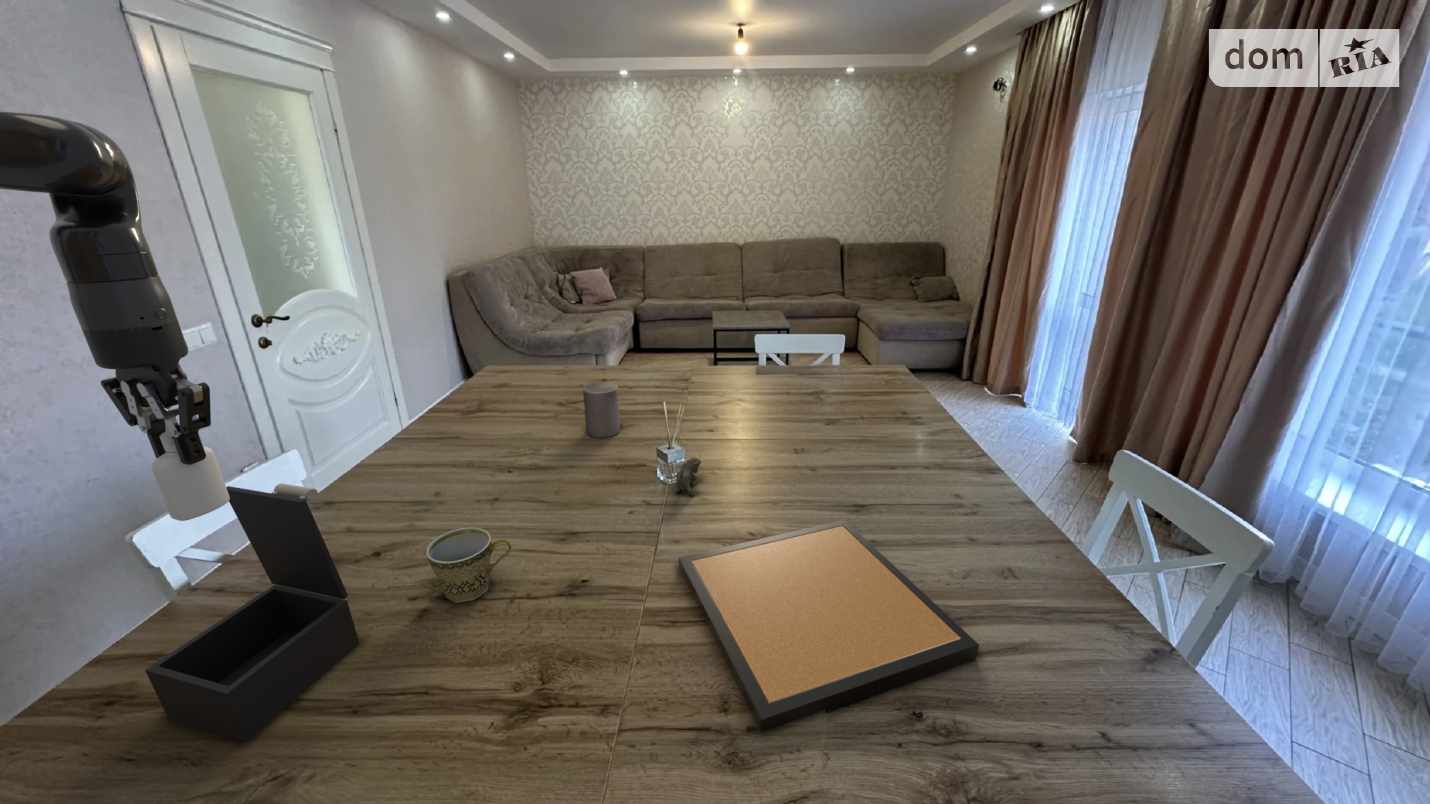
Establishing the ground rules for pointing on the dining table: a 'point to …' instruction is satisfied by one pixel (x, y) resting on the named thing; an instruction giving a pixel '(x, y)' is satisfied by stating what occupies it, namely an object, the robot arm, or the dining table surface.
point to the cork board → (818, 621)
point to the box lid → (287, 538)
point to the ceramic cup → (463, 562)
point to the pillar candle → (601, 409)
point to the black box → (254, 661)
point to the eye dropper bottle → (188, 482)
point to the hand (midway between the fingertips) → (182, 459)
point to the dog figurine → (687, 476)
